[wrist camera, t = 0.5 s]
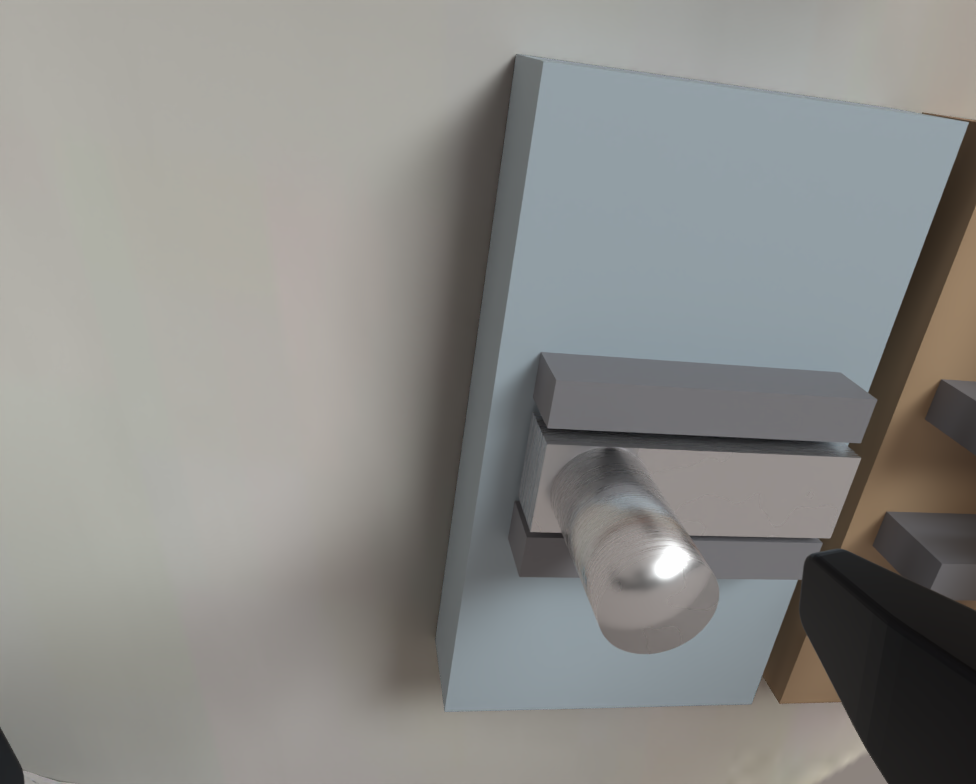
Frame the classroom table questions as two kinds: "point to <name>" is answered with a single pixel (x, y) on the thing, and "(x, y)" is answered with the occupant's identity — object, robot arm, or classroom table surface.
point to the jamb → (912, 438)
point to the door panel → (668, 346)
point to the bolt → (671, 515)
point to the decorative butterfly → (39, 779)
